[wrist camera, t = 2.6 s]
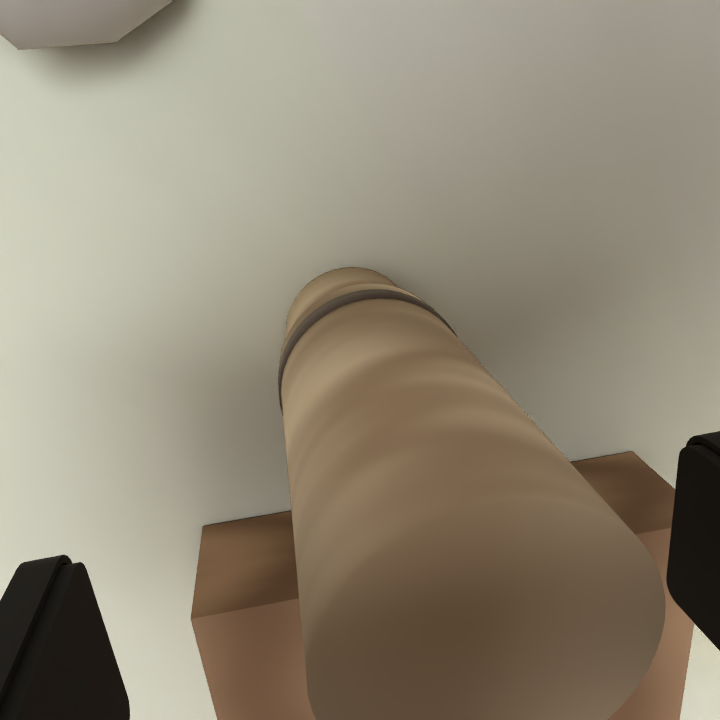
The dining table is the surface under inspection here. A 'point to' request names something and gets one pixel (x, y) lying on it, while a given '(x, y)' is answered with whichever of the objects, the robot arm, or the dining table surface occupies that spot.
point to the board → (283, 619)
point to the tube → (72, 21)
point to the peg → (445, 529)
